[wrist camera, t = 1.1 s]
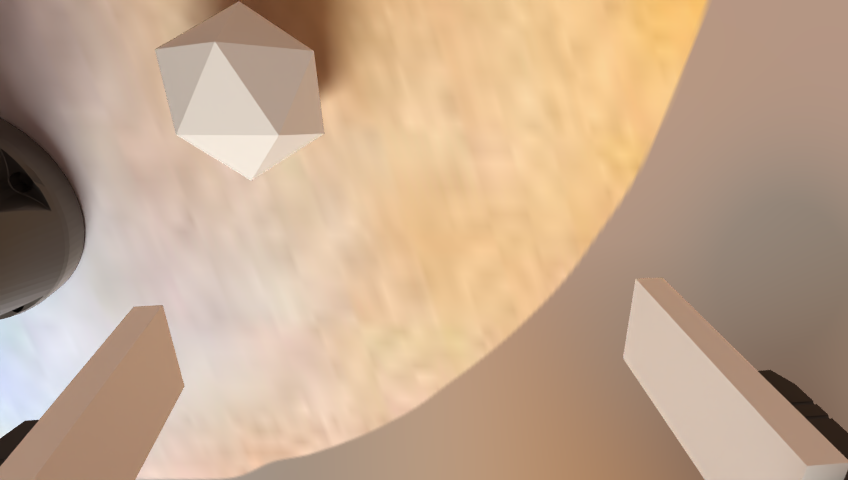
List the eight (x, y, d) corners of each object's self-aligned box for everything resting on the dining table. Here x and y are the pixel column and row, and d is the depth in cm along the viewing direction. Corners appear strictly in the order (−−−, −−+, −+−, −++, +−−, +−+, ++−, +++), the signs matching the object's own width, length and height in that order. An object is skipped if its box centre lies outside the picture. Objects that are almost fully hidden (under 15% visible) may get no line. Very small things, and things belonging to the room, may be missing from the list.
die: (233, -24, 32) (85, 33, 26) (354, 7, 29) (219, 81, 23) (261, 101, 38) (145, 173, 32) (363, 138, 35) (257, 226, 29)
